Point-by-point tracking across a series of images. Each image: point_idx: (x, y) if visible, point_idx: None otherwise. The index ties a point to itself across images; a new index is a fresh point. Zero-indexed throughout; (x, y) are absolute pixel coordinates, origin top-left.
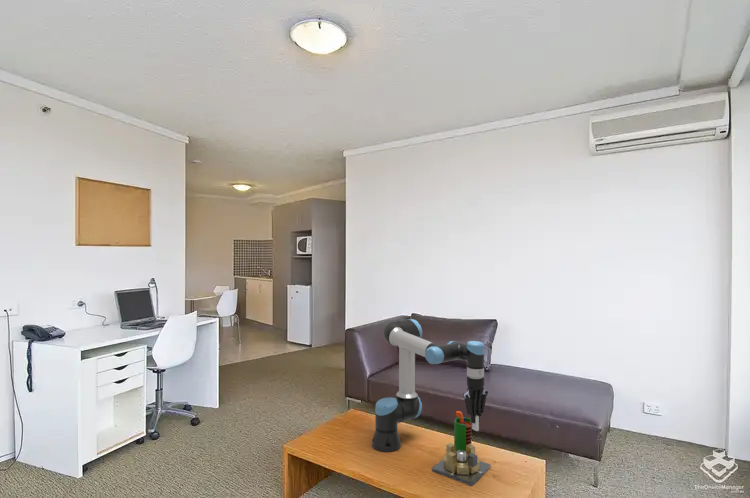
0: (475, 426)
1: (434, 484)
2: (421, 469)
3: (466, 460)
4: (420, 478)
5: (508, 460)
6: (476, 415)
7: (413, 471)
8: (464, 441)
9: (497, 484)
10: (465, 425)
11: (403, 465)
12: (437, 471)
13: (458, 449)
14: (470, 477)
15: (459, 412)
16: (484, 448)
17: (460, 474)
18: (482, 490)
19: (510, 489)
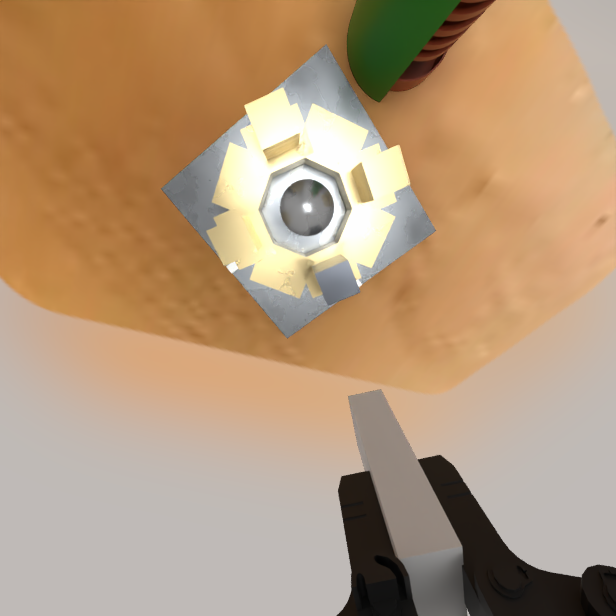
0: (365, 470)
1: (150, 289)
2: (122, 159)
3: (341, 190)
4: (102, 233)
5: (541, 195)
6: (442, 601)
7: (79, 167)
8: (401, 59)
9: (379, 343)
10: None
11: (34, 91)
12: (184, 214)
13: (359, 56)
14: (298, 305)
15: None
16: (526, 34)
17: None
18: (309, 363)
19: (401, 378)
